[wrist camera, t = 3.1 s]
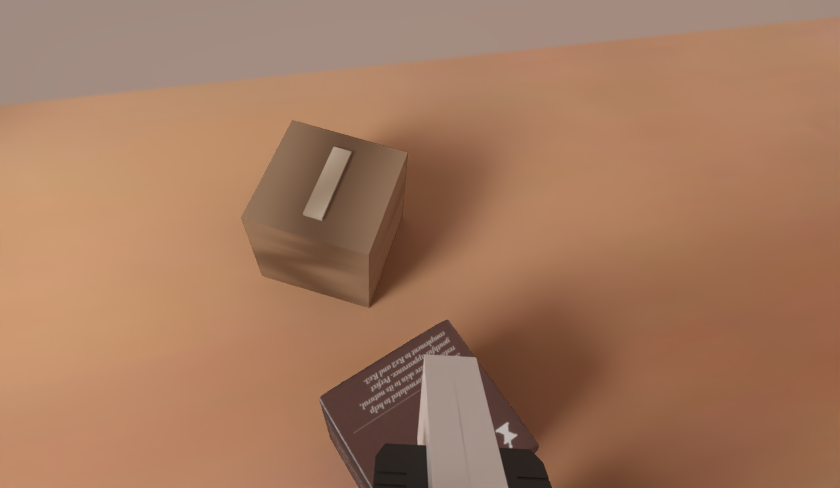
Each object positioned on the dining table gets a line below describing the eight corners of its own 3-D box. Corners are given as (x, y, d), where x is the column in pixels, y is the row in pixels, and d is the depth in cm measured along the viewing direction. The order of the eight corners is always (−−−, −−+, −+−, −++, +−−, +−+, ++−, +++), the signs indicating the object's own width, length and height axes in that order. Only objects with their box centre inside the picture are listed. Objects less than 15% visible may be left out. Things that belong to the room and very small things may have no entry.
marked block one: (262, 276, 32) (240, 215, 27) (304, 188, 35) (291, 117, 29) (369, 308, 32) (368, 253, 26) (402, 216, 34) (408, 149, 29)
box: (433, 369, 30) (450, 313, 24) (505, 476, 28) (545, 446, 21) (327, 436, 28) (314, 395, 22) (395, 556, 26) (403, 550, 20)
